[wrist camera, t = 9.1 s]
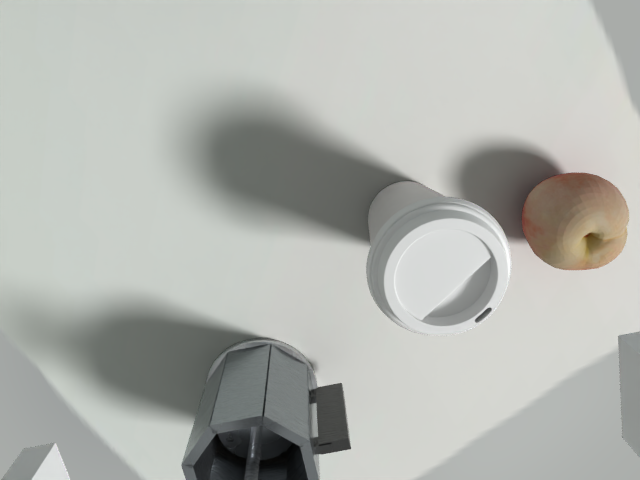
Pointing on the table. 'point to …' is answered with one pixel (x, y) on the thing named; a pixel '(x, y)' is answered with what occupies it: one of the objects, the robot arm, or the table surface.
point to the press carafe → (265, 413)
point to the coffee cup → (435, 260)
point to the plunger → (254, 446)
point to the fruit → (575, 221)
